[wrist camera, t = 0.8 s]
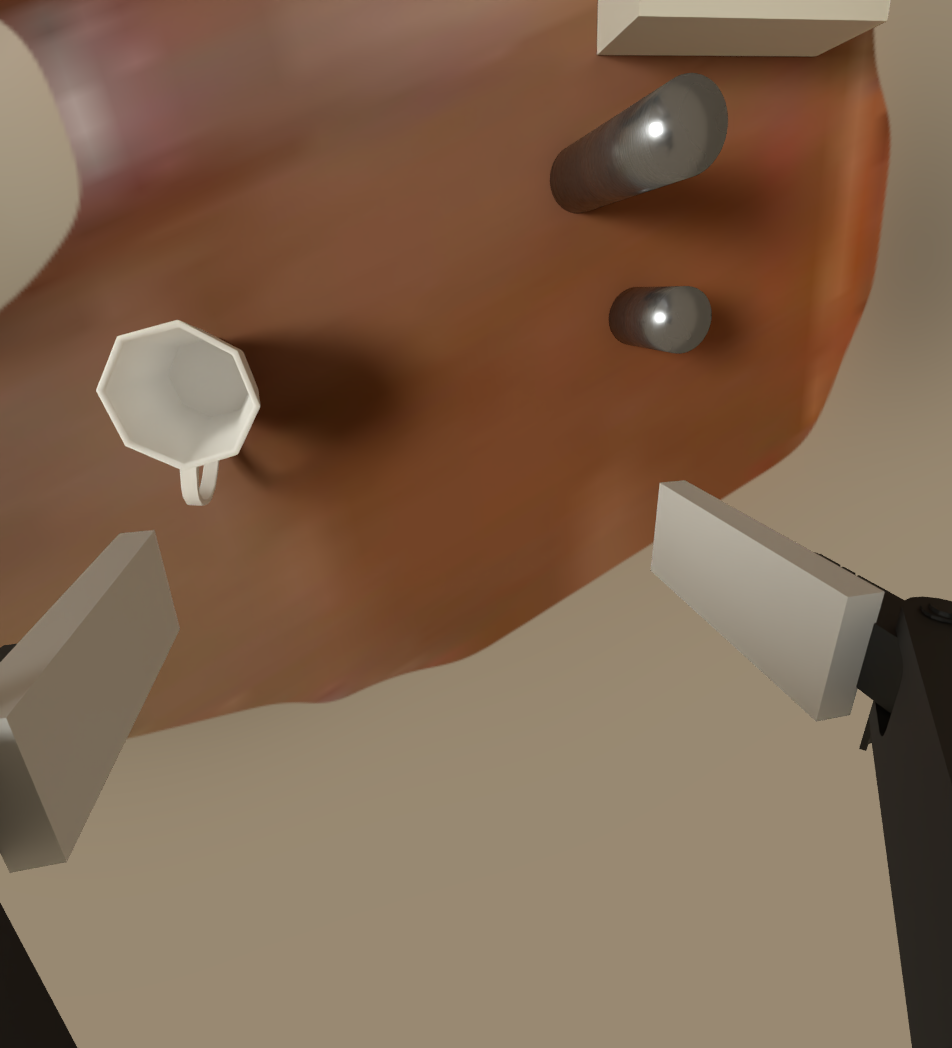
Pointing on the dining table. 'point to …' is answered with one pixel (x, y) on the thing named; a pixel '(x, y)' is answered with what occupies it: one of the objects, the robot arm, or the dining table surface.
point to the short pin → (661, 318)
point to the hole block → (733, 26)
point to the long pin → (644, 146)
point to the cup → (180, 400)
